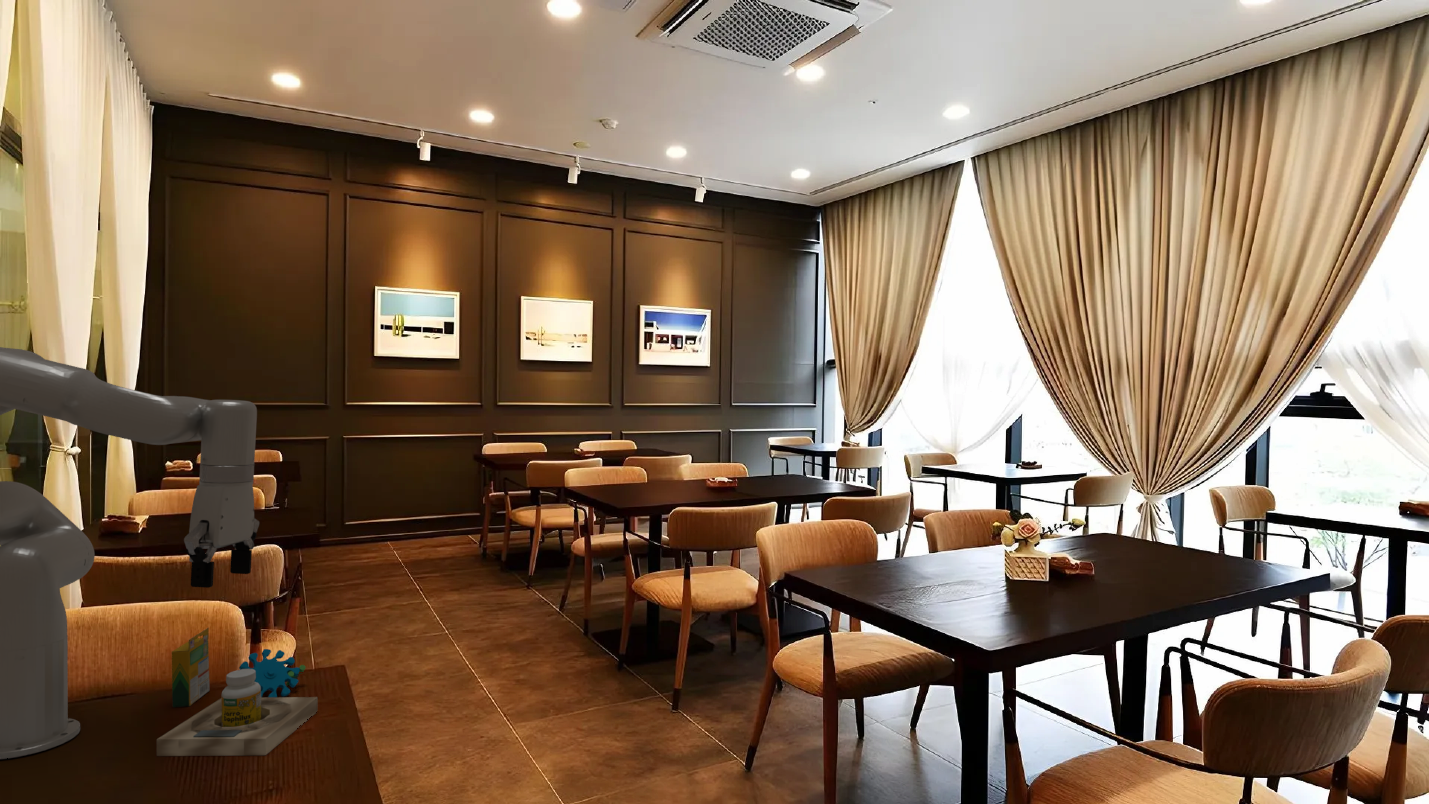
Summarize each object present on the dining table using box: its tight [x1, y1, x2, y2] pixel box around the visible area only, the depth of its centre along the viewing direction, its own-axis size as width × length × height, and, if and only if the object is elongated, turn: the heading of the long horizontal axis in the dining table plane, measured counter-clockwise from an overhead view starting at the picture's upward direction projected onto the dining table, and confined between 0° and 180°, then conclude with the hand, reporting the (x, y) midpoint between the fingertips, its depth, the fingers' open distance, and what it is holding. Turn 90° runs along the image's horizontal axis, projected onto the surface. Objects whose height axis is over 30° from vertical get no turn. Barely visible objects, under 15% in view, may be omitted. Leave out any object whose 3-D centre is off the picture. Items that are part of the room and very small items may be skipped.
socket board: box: [156, 696, 319, 757], centre depth 124 cm, size 16×16×3 cm
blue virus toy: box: [238, 648, 307, 697], centre depth 140 cm, size 11×6×10 cm
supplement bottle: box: [221, 669, 261, 727], centre depth 123 cm, size 5×5×10 cm
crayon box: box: [171, 627, 210, 708], centre depth 137 cm, size 7×3×12 cm, turn 10°
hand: (221, 579), depth 126 cm, fingers open, 9 cm apart
